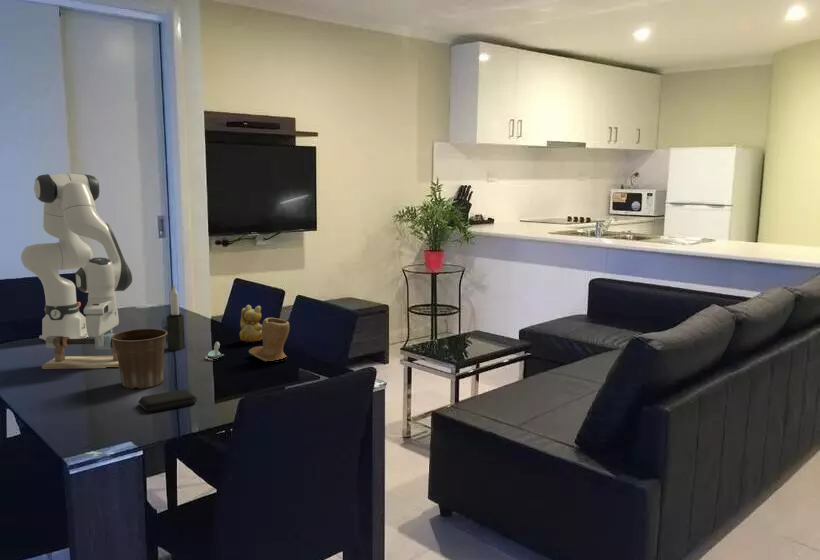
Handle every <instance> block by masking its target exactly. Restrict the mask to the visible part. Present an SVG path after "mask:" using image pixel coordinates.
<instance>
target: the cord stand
mask: <svg viewBox="0 0 820 560" xmlns="http://www.w3.org/2000/svg"><path fill="white" fill-rule="evenodd" d="M111 344H112V347H113V348H112V355H78V356H77V355H76V356H74V355H71V356H69V355H68V356H66V353H65V347H70V345H73V346H74V345H95V338H81V339H70V338H69V337H64V336H49V337H47V338H46V341H45V347H46V349H53V350H54V358H52V359H51V360H49V361H47V362H45V363H43V364H42V365H41V369H42V370H59V369H60V370H64V369H67V370H68V369H69V370H71V369H107V368H106V367H119V363H118V357H117V352H116V350H115V346H114V342H113V340H112V339H111Z"/></svg>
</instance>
